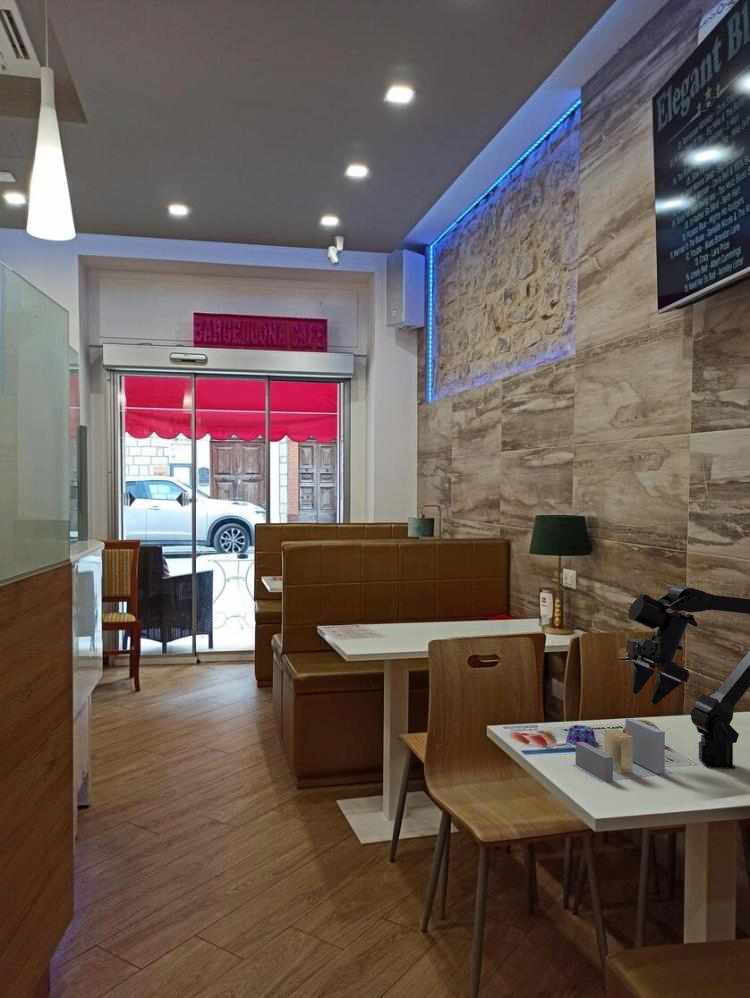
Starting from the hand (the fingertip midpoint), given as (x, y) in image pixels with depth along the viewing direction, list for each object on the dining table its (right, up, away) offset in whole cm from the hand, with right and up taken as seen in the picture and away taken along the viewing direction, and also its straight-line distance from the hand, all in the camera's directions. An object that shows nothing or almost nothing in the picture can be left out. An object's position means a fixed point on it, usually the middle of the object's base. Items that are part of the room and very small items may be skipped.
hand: (643, 698), depth 173 cm
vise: (-7, -16, -6) cm, 18 cm away
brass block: (-8, -14, -7) cm, 18 cm away
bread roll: (+5, -16, +16) cm, 24 cm away
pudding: (-11, -16, +13) cm, 24 cm away
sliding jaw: (-1, -14, -4) cm, 15 cm away
